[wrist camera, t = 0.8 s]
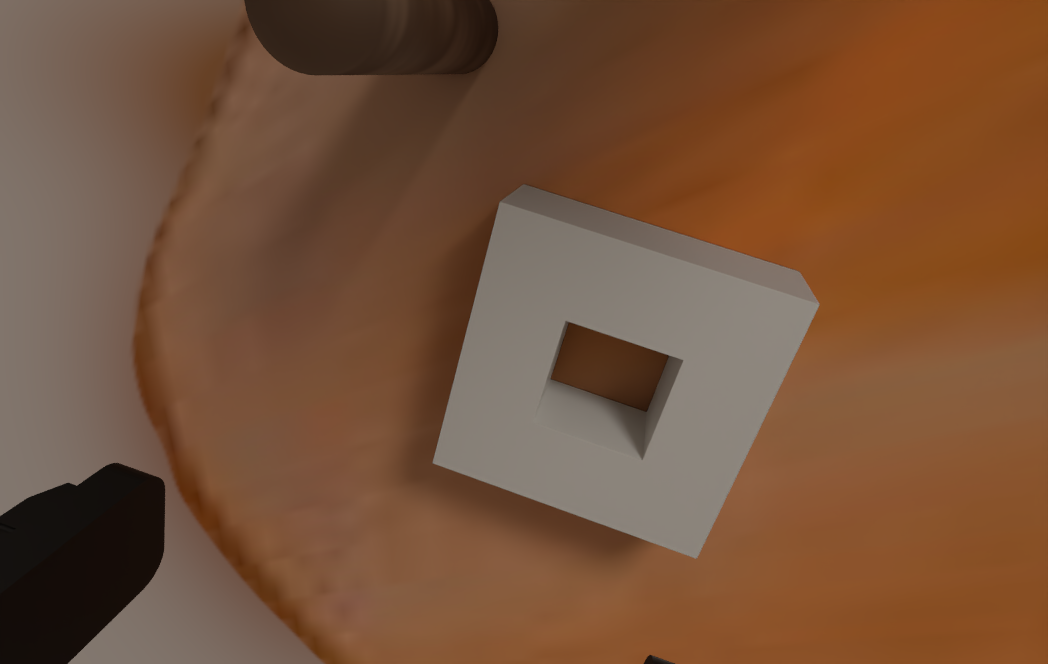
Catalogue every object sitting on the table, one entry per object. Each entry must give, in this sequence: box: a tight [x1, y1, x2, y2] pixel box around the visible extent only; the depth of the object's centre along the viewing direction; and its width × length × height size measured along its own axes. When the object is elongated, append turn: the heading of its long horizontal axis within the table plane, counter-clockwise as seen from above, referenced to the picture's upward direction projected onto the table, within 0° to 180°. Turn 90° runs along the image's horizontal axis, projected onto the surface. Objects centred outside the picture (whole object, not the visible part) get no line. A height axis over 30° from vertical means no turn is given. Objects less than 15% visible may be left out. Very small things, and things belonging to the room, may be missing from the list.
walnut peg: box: [245, 0, 498, 75], centre depth 25 cm, size 4×4×14 cm
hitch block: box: [433, 184, 820, 559], centre depth 34 cm, size 14×14×5 cm
